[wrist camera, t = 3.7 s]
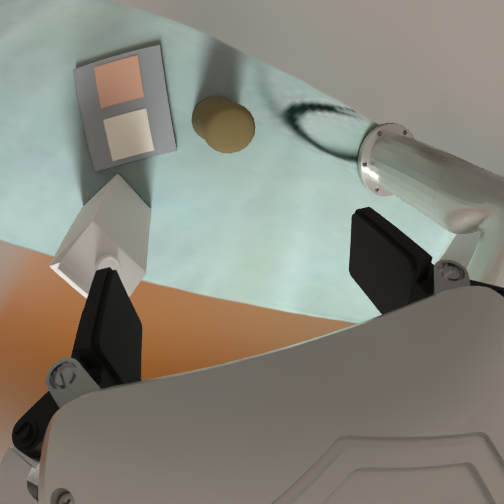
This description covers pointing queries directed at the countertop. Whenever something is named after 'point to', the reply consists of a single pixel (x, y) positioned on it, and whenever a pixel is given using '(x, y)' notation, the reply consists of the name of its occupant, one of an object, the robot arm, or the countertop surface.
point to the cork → (223, 124)
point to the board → (125, 108)
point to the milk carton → (106, 238)
